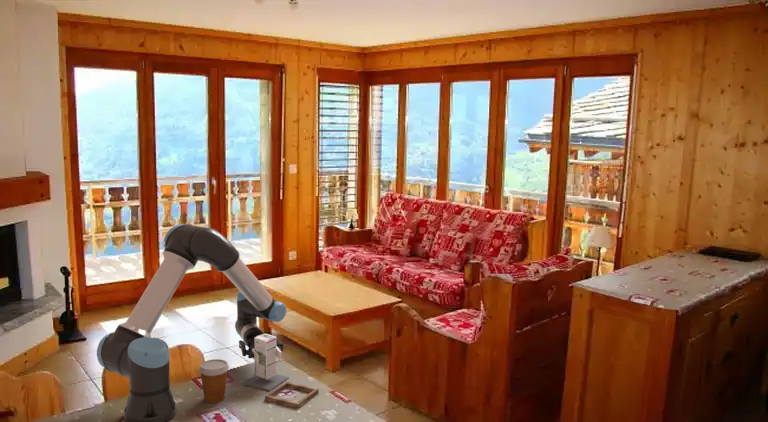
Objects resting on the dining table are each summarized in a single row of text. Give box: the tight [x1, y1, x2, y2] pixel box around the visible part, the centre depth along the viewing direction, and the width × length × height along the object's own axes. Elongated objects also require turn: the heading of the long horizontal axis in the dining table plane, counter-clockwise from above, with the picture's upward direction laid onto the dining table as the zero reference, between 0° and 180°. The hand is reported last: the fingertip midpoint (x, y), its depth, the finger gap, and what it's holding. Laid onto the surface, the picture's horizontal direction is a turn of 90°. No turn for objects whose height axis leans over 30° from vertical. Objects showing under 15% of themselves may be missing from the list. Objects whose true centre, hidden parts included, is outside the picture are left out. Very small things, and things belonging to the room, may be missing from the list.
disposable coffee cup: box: [198, 358, 230, 404], centre depth 196 cm, size 10×10×12 cm
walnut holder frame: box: [264, 381, 320, 409], centre depth 200 cm, size 13×13×2 cm
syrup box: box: [254, 333, 278, 379], centre depth 210 cm, size 6×6×14 cm
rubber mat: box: [240, 374, 290, 392], centre depth 211 cm, size 12×12×1 cm
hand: (269, 357), depth 205 cm, fingers closed on syrup box, 7 cm apart
